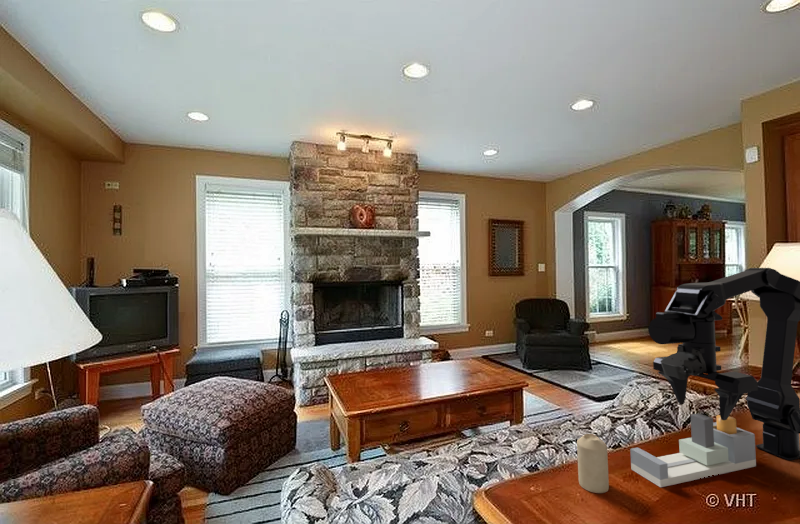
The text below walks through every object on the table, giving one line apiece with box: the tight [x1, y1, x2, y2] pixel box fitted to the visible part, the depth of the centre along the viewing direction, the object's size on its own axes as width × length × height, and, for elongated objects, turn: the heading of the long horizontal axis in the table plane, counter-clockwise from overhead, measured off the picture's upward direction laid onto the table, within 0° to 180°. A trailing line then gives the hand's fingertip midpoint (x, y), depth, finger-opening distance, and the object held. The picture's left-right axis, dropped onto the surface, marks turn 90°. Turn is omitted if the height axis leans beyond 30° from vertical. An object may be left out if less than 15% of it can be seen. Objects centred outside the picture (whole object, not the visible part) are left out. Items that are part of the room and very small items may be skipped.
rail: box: [629, 421, 757, 488], centre depth 81 cm, size 26×7×7 cm, turn 104°
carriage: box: [678, 412, 729, 466], centre depth 82 cm, size 6×6×9 cm
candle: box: [576, 433, 610, 494], centre depth 76 cm, size 6×6×10 cm
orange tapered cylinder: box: [715, 414, 738, 434], centre depth 84 cm, size 3×3×6 cm
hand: (701, 411), depth 82 cm, fingers open, 9 cm apart
